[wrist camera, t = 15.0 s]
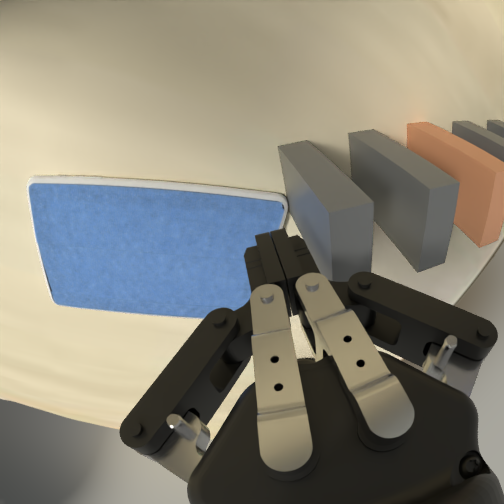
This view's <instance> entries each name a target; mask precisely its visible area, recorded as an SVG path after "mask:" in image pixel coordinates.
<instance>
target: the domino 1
mask: <svg viewBox="0 0 504 504" xmlns="http://www.w3.org/2000/svg"><path fill="white" fill-rule="evenodd" d="M278 150H279V155H280V161H281V166H282V172H283V177H284V183H285V189H286V195H287V200H288V206H289V212H290V214H291V216H292V218H293V219H294V221H295V223H296V225H297V227H298V229H299V231H300V233H301V235H302V237H303V239H304V241H305V243H306V245H307V247H308V249H309V251H310V253H311V255H312V257H313V259H314V261H315V263H316V265H317V267H318V269H319V271H320V273H321V274H322V275H324V276H325V277H326V278H327V279H328V280H330V281H335V282H348V281H349V278H350V277H351V276H352V275H353V274H355V273H358V272H363V271H365V272H371V262H372V245H373V216H374V202H373V201H372V200H371V199H370V198H369V197H368V196H367V195H366V194H365V193H364V192H363V191H362V190H361V189H360V188H359V187H358V186H357V185H356V184H355V183H354V182H353V181H352V180H351V179H350V178H349V177H348V176H347V175H345V174H344V173H343V172H342V171H341V170H340V169H339V168H338V167H337V166H336V165H335V164H334V163H332V162H331V161H330V160H329V159H328V158H327V157H326V156H325V155H324V154H322V153H321V152H320V151H319V150H318V149H317V148H316V147H314V146H313V145H312V144H311V143H310V142H309V141H307V140H306V141H301V142H296V143H291V144H286V145H282V146H278Z"/></svg>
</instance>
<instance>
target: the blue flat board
mask: <svg viewBox="0 0 504 504" xmlns="http://www.w3.org/2000/svg"><path fill="white" fill-rule="evenodd" d="M26 188H27V197H28V204H29V210H30V216H31V221H32V226H33V232H34V237H35V241H36V246H37V250H38V255H39V259H40V263H41V267H42V270H43V274H44V278H45V281H46V285H47V288H48V292H49V295H50V298H51V300H52V301H53V302H54V303H55V304H57V305H59V306H65V307H73V308H81V309H89V310H98V311H108V312H118V313H128V314H139V315H151V316H164V317H177V318H192V319H204V318H205V317H206V315H207V314H208V313H210V312H211V311H212V310H215V309H217V308H229V309H232V310H233V311H235V310H237V309H239V308H240V307H242V306H243V305H245V304H246V303H247V302H248V300H249V299H250V296H251V289H250V284H249V279H248V274H247V269H246V264H245V259H244V253H245V251H246V248H248V247H252V246H256V245H257V244H256V240H255V235H258V234H262V233H266V232H269V233H270V231H274V230H278V229H282V228H283V225H284V222H285V218H286V215H287V211H288V201H287V198H286V197H285V196H283V195H282V194H279V193H273V192H264V191H256V190H247V189H239V188H230V187H221V186H211V185H202V184H191V183H180V182H168V181H155V180H141V179H124V178H107V177H98V176H66V175H34V176H32V177H31V178H30V179H29V181H28V183H27V186H26Z"/></svg>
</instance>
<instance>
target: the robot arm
mask: <svg viewBox="0 0 504 504" xmlns="http://www.w3.org/2000/svg"><path fill="white" fill-rule="evenodd" d="M255 240H256V244H257V245H256V246H252V247H248V248H246V251H245V253H244V259H245V264H246V269H247V274H248V279H249V284H250V289H251V296H250V299H249V300H248V302H247V303H246V304H245V305H243V306H242V307H240V308H239V309H237V310H235V311H233V310H232V309H229V308H217V309H215V310H212V311H211V312H210V313H208V314H207V315H206V317H205V318H204V319H203V321H202V322H201V323H200V324H199V326H198V327H197V328H196V329H195V331H194V332H193V333H192V334H191V336H190V337H189V338H188V340H187V341H186V342H185V343H184V345H183V346H182V347H181V348H180V350H179V351H178V352H177V354H176V355H175V356H174V357H173V359H172V360H171V361H170V362H169V364H168V365H167V366H166V367H165V369H164V370H163V371H162V373H161V374H160V375H159V376H158V378H157V379H156V380H155V381H154V383H153V384H152V385H151V386H150V388H149V389H148V390H147V392H146V393H145V394H144V395H143V397H142V398H141V399H140V400H139V402H138V403H137V404H136V405H135V407H134V408H133V409H132V411H131V412H130V413H129V414H128V416H127V417H126V418H125V419H124V421H123V422H122V424H121V427H120V437H121V439H122V441H123V442H124V444H126V445H127V446H129V447H131V448H132V449H134V450H136V451H137V452H138V453H140V454H141V455H143V456H145V457H147V458H149V459H151V460H153V461H155V462H158V463H159V464H161V465H162V466H163V467H165V468H166V469H168V470H169V471H170V472H172V473H173V474H175V475H176V476H178V477H179V478H181V479H182V480H184V481H185V482H187V483H188V487H187V493H188V498H189V501H190V504H504V494H503V491H502V488H501V485H500V483H499V480H498V478H497V476H496V475H495V474H494V473H493V471H492V470H491V469H490V468H489V466H488V465H487V464H486V462H485V461H484V460H483V458H482V456H481V454H480V452H479V447H478V413H477V409H476V407H475V405H474V403H473V401H472V400H471V399H470V398H469V397H470V394H471V391H472V389H473V386H474V384H475V381H476V378H477V375H478V372H479V369H480V366H481V364H482V362H483V361H484V359H485V357H486V356H487V355H488V353H489V352H490V350H491V349H492V347H493V346H494V344H495V343H496V341H497V338H498V334H497V330H496V328H495V326H494V325H493V324H492V323H491V322H490V321H488V320H486V319H484V318H482V317H479V316H477V315H474V314H472V313H470V312H467V311H465V310H463V309H460V308H458V307H455V306H453V305H451V304H448V303H446V302H443V301H441V300H438V299H436V298H434V297H431V296H429V295H426V294H424V293H421V292H419V291H416V290H414V289H411V288H409V287H406V286H404V285H401V284H399V283H396V282H394V281H391V280H389V279H386V278H384V277H381V276H379V275H376V274H374V273H371V272H365V271H363V272H358V273H355V274H353V275H352V276H351V277H350V278H349V281H348V282H335V281H330V280H328V279H327V278H326V277H325V276H324V275H322V274H321V273H320V271H319V269H318V267H317V265H316V263H315V261H314V259H313V257H312V255H311V253H310V251H309V249H308V247H307V245H306V243H305V241H304V240H303V239H302V238H300V237H299V236H298V235H296V236H292V237H288V235H287V233H286V230H285V228H282V229H278V230H274V231H270V233H269V232H266V233H262V234H258V235H255ZM290 307H291V309H290ZM291 311H292V314H293V316H294V315H299V318H300V322H301V328H302V331H303V333H304V335H305V338H306V340H307V342H308V344H309V347H310V349H311V351H312V354H313V356H314V358H315V361H316V362H315V363H312V364H298V363H297V358H296V353H295V348H294V342H293V337H292V332H291V324H290V318H289V317H291V316H292V315H291ZM374 344H375V345H377V346H379V347H381V348H383V349H385V350H387V351H389V352H391V353H393V354H395V355H398V356H400V357H402V358H404V359H406V360H408V361H410V362H412V363H414V364H417V365H419V366H421V367H422V368H423V372H422V371H420V370H418V369H416V368H414V367H412V366H410V365H408V364H406V363H404V362H403V361H401V360H399V359H397V358H395V357H393V356H391V355H389V354H387V353H384V352H381V351H377V349H376V348H375V346H374ZM252 355H253V363H254V374H255V382H254V383H253V384H251V385H250V386H249V387H248V388H247V389H246V390H245V391H244V392H243V393H242V394H241V395H240V397H239V399H238V400H237V402H236V404H235V405H234V407H233V409H232V410H231V412H230V414H229V415H228V417H227V418H226V420H225V422H224V423H223V425H222V427H221V428H220V430H219V431H218V433H217V435H216V436H215V438H214V439H213V441H212V442H211V444H210V446H209V447H208V449H207V450H206V447H207V445H208V443H209V441H210V431H209V429H208V427H207V426H206V425H207V424H208V423H209V421H210V420H211V418H212V417H213V415H214V414H215V412H216V411H217V409H218V408H219V407H220V405H221V404H222V402H223V401H224V399H225V398H226V396H227V395H228V393H229V392H230V390H231V389H232V387H233V386H234V384H235V383H236V381H237V379H238V378H239V376H240V375H241V373H242V372H243V370H244V369H245V367H246V366H247V364H248V363H249V361H250V358H251V356H252Z"/></svg>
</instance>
